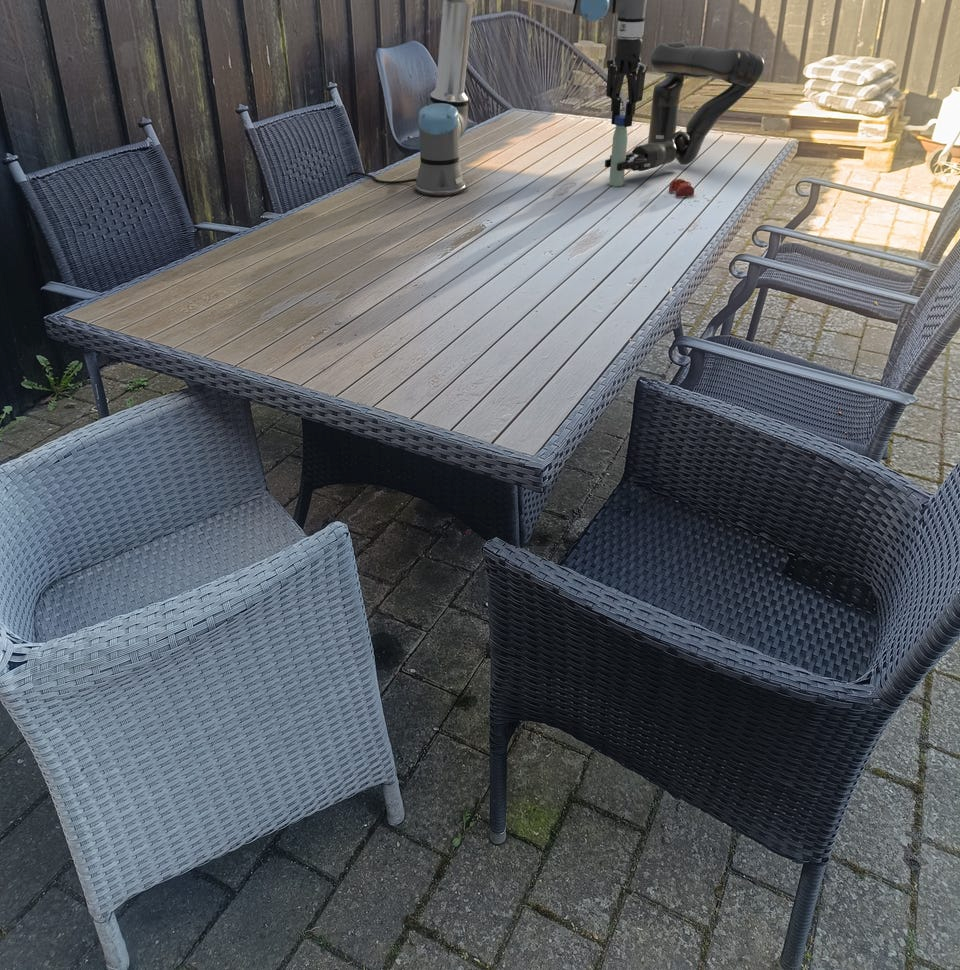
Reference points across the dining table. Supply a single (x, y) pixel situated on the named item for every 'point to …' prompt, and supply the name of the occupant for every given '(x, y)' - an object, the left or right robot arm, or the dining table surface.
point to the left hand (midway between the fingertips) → (621, 124)
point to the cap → (619, 120)
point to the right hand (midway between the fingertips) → (611, 165)
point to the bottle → (618, 155)
